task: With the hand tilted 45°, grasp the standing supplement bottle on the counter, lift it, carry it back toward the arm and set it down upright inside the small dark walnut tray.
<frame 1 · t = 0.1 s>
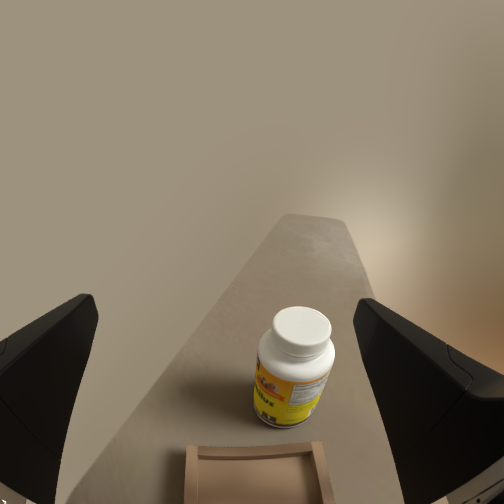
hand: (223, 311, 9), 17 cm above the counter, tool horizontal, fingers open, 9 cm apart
supplement bottle: (283, 406, 22), on the counter
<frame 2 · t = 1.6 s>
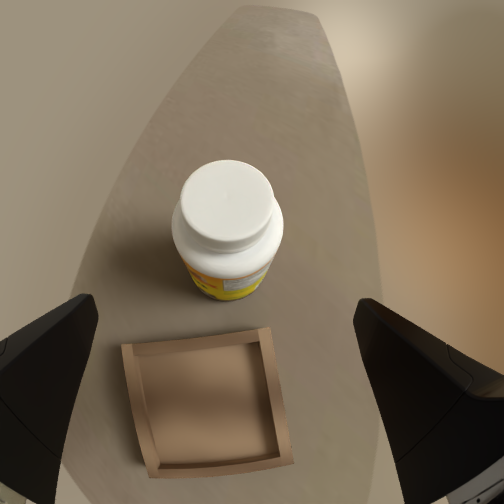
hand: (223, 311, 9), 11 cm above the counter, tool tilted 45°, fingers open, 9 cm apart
supplement bottle: (227, 267, 21), on the counter
walnut tray: (207, 406, 17), on the counter
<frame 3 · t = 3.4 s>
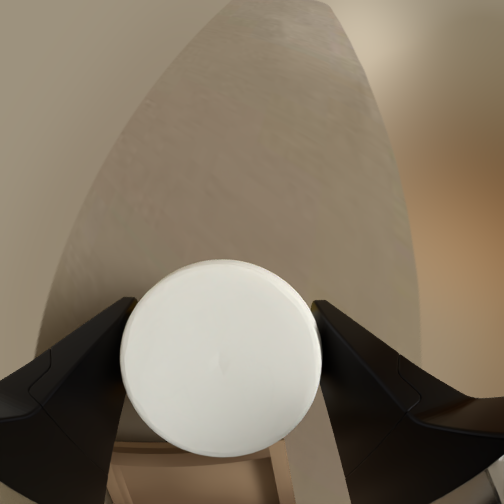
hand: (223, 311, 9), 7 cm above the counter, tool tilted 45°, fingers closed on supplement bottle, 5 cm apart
supplement bottle: (226, 351, 15), on the counter, touching gripper
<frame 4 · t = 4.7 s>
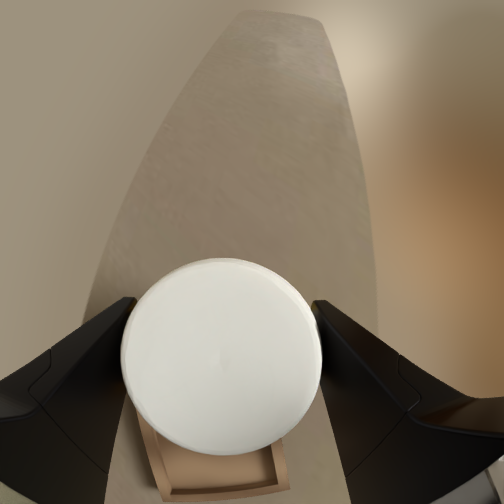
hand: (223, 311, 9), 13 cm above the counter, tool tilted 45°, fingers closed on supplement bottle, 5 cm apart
supplement bottle: (225, 350, 15), point 6 cm above the counter, touching gripper
walnut tray: (213, 440, 18), on the counter
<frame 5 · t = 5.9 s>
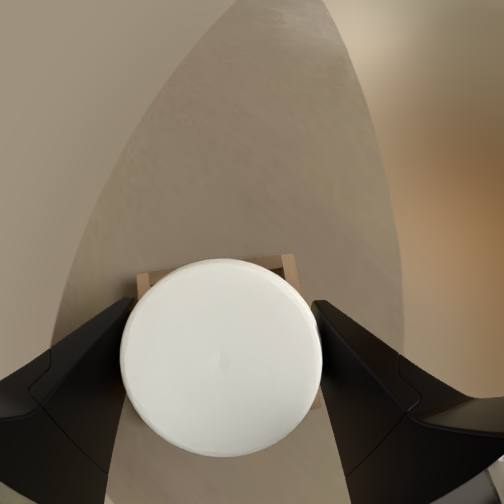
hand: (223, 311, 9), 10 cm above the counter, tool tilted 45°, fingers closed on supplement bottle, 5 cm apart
supplement bottle: (225, 350, 15), point 3 cm above the counter, touching gripper
walnut tray: (226, 345, 18), on the counter
when the fingers open (9 cm above the counter, at t = 6.5 s): supplement bottle drops 1 cm, resting on walnut tray.
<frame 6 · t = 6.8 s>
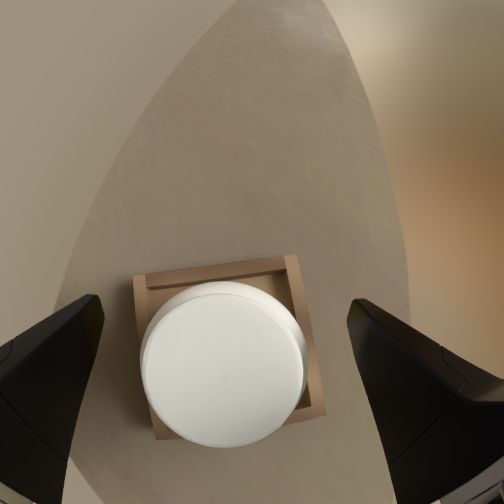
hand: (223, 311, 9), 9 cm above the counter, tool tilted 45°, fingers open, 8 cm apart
supplement bottle: (226, 353, 16), point 1 cm above the counter, touching walnut tray
walnut tray: (226, 350, 17), on the counter
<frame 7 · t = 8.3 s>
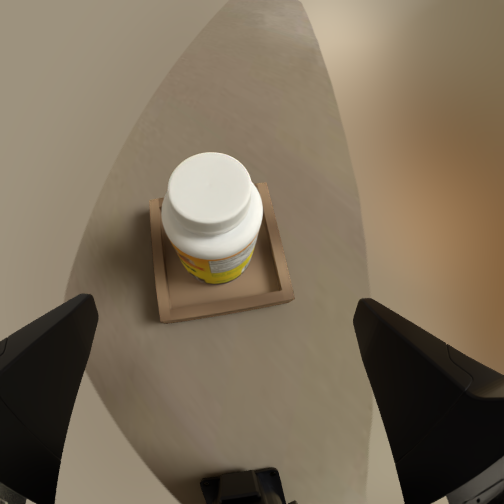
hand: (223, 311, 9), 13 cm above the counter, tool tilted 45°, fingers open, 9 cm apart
supplement bottle: (216, 253, 22), point 1 cm above the counter, touching walnut tray
walnut tray: (217, 254, 23), on the counter
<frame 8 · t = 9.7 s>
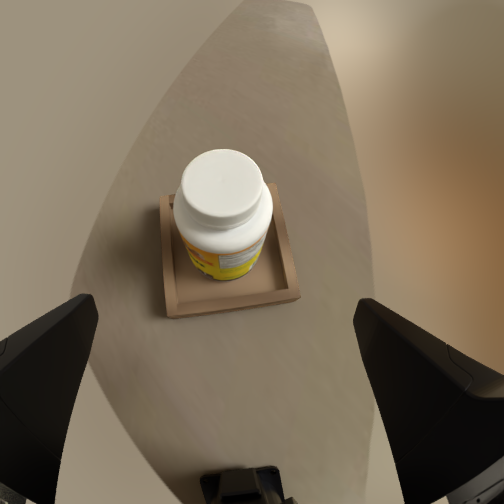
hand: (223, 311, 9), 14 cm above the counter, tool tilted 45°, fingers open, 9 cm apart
supplement bottle: (224, 251, 23), point 1 cm above the counter, touching walnut tray
walnut tray: (225, 252, 24), on the counter
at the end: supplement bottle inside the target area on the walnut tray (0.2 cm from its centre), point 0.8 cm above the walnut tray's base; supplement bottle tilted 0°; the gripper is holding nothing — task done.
